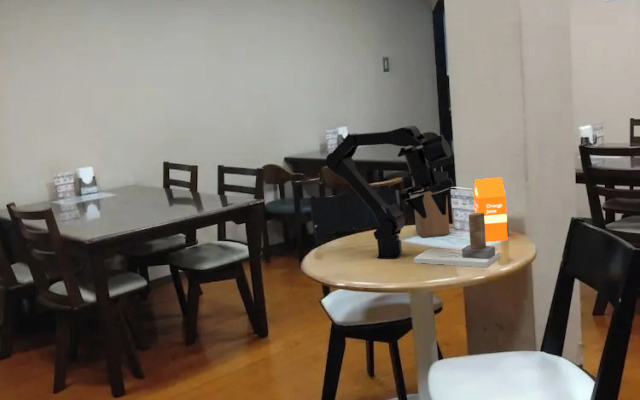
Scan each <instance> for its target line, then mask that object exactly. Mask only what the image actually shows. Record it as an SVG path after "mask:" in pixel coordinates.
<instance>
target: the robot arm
mask: <svg viewBox="0 0 640 400" xmlns="http://www.w3.org/2000/svg"><path fill="white" fill-rule="evenodd" d="M375 145H392V146H397V147H401V148H400V150H399V152H398V154H397V157H398V158H400V157H403V156H404V157H405V161H406V163H407V167H408V170H409V173H407V177H408V178H410V177H411V180H413V182H412V184H413V183H414V186H413V185H412V186H411V187H408V188H404V189H402V190H401V191H400V198H401V201H403V200H404V202H405V203H408V205H410V206H411V207H412V209H413V210H414V209H415V210H416V211H417V212H418V213H419V214H420V215H421V216H422V218H423V219H425V218H427V216H426V211H425V207H424V203H423V198H424V194H422V195H419V194H421V193H424V192H428V191H430V192H432V193H434V194H432V195H431V196H432V198H433V200H434V202H435V203H436V205H437V207H438V209H439V210H440V212H441V214H442V215H446V198H447V199H448V194H449V192H450V191H452V187H454V182H453V180H452V179H451V178H449V173H448V171H441V170H434V167H433V166H429V163H428V161H429V162H430V163H435V162H438V161H441V160H444V159H448V158H450V157H451V155H452V149H451V146H450V144H449V143H448V140H447V139H445V136H444V135H443V134H441V135H438V136H436V137H434V138H431V139H429V138H428V137H426V136H425V135H424V134H423V133H421V131H420V128H419V127H417V126H416V125H413V124H412V125H407V126H403V127H399V128H396V129H392V130H389V131H388V130H387V131H386V130H385V131H377V132H364V133H356V132H354V133H351V134H350V133H349V134H347V135H346V136H345V138H344V139H343V140H342V141H341V142H340V144H338V145H337V146H336V147H335V149H334V150H333V151H332V152H330V153H329V154H328V155H327V156H326V158H325V164H326V167H327V169H329V170H330V172H332V173H333V174H335V175H336V176H338V177H340V178H342V179H343V180H345V181H346V182H347V184H348V185H349V186H350V187H351V188H352V190H354V192H355V193H356V194H357V195H358V196H359V198H360V199H361V200H362V201H363V202H364V203H365V204H366V206H368V208H369V209H370V210H371V211H372V212H373V214H374V218H375V220H376V223H377V225H378V228H377V229H376V230H375V231H374V232H373V236H374V239H375V240H377V241H376V242H377V250H378V254H377V256H376V258H377V259H398V258H399V256H401V255H402V253H403V249H402V240H401V239H400V236H399V234H401V231H402V229H404V227H405V224H406V218H405V216H404V212H403V211H401V209H399V207H398V206H397V205H396V204H395V203H394V204H392V205H390V204H387V203H386V202H385V201H384V200H383V198H382V197H381V196H380V195H379V194H378V193H377V192H376V190H375V189H374V188H373V187H372V186H371V185H370V183H369V182H367V180H366V179H365V178H364V177H363V176H362V175H361V174H360V172H359V171H358V170H357V167H356V162H355V161H354V159H353V158H352V157H353V156H354V155H355V153H356V151H357V149H358V147H360V146H361V147H363V146H375ZM410 146H411V147H410ZM420 146H422V147H420ZM406 147H408V148H406ZM418 147H420V148H418ZM427 187H428V188H427ZM422 188H423V189H422ZM415 210H414V211H415Z"/></svg>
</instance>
